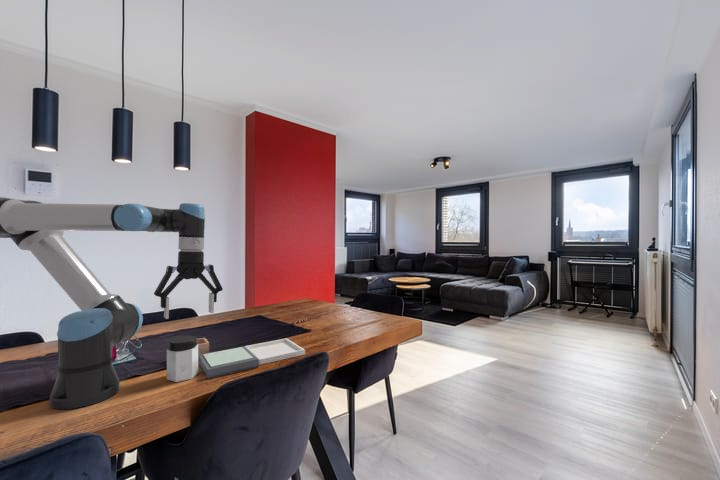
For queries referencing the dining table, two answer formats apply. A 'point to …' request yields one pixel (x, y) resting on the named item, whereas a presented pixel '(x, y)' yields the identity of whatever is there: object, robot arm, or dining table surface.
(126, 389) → the dining table surface
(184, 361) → the jar
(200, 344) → the cup
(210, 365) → the plate
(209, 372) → the block
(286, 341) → the tray
